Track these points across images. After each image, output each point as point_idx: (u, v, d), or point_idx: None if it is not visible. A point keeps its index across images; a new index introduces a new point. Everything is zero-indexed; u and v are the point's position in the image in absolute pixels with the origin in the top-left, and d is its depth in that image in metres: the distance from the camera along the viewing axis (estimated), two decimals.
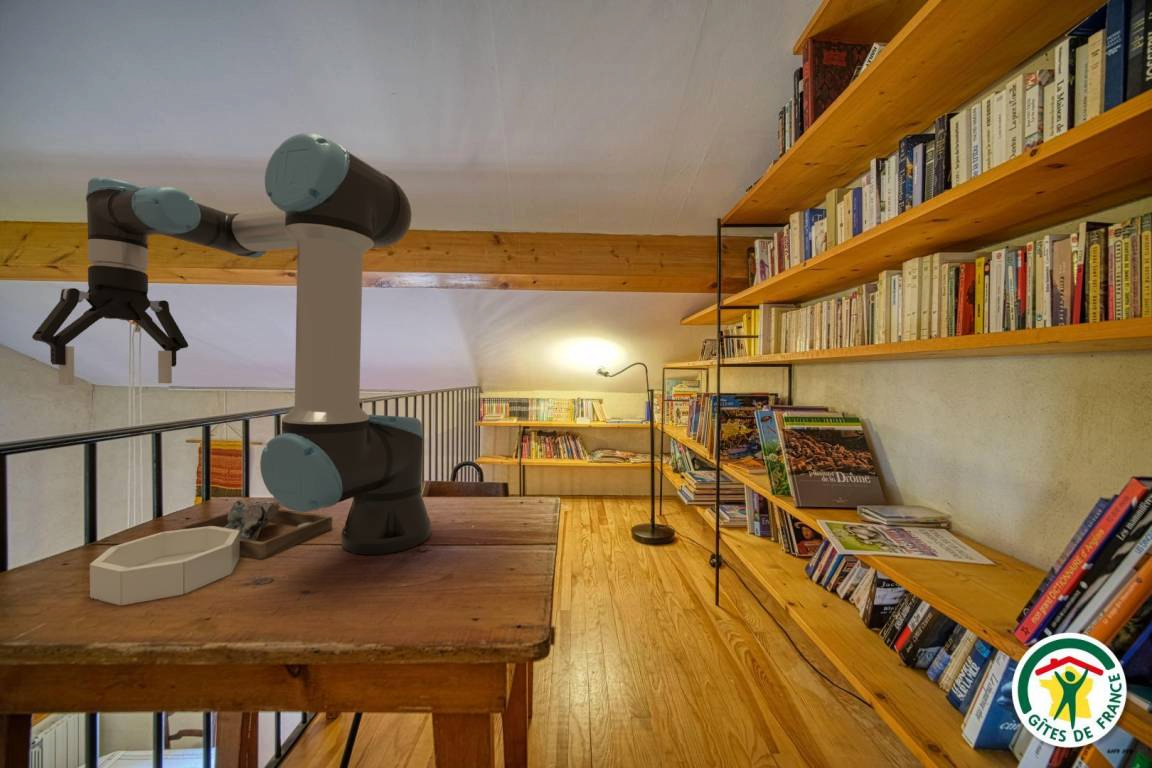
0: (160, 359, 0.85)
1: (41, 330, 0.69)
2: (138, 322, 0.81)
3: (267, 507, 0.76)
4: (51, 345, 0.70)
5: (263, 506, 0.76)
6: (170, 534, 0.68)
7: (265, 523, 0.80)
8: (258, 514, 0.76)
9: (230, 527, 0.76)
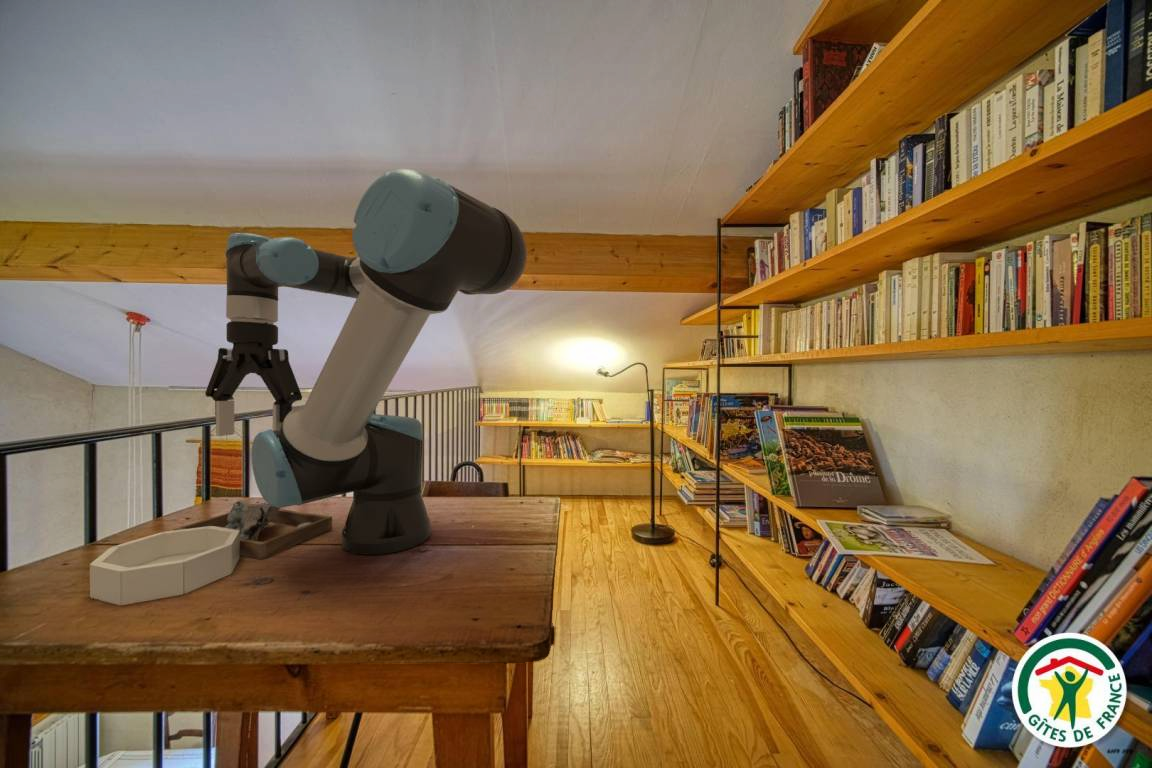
0: None
1: None
2: None
3: (266, 508, 0.76)
4: None
5: (262, 507, 0.76)
6: (170, 534, 0.68)
7: (265, 524, 0.80)
8: (257, 515, 0.75)
9: (230, 528, 0.76)
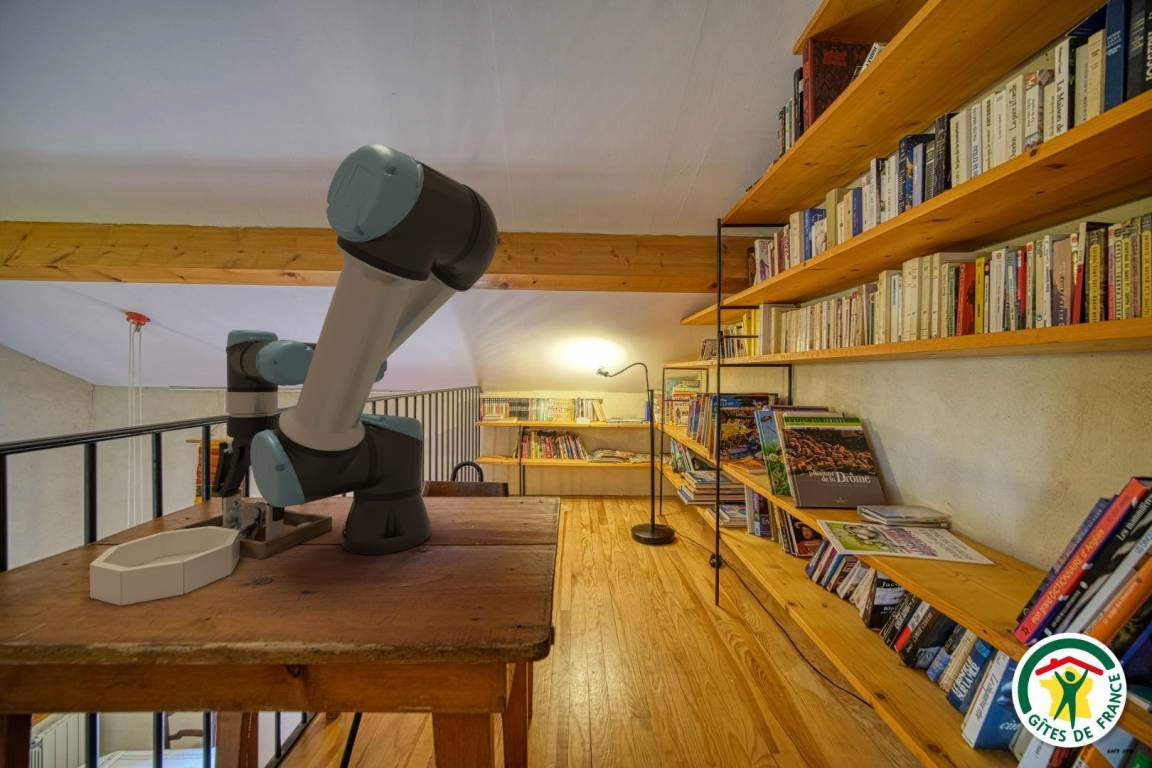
0: None
1: None
2: None
3: (264, 507, 0.76)
4: None
5: (260, 506, 0.76)
6: (170, 534, 0.68)
7: (263, 523, 0.80)
8: (254, 515, 0.75)
9: (227, 527, 0.76)
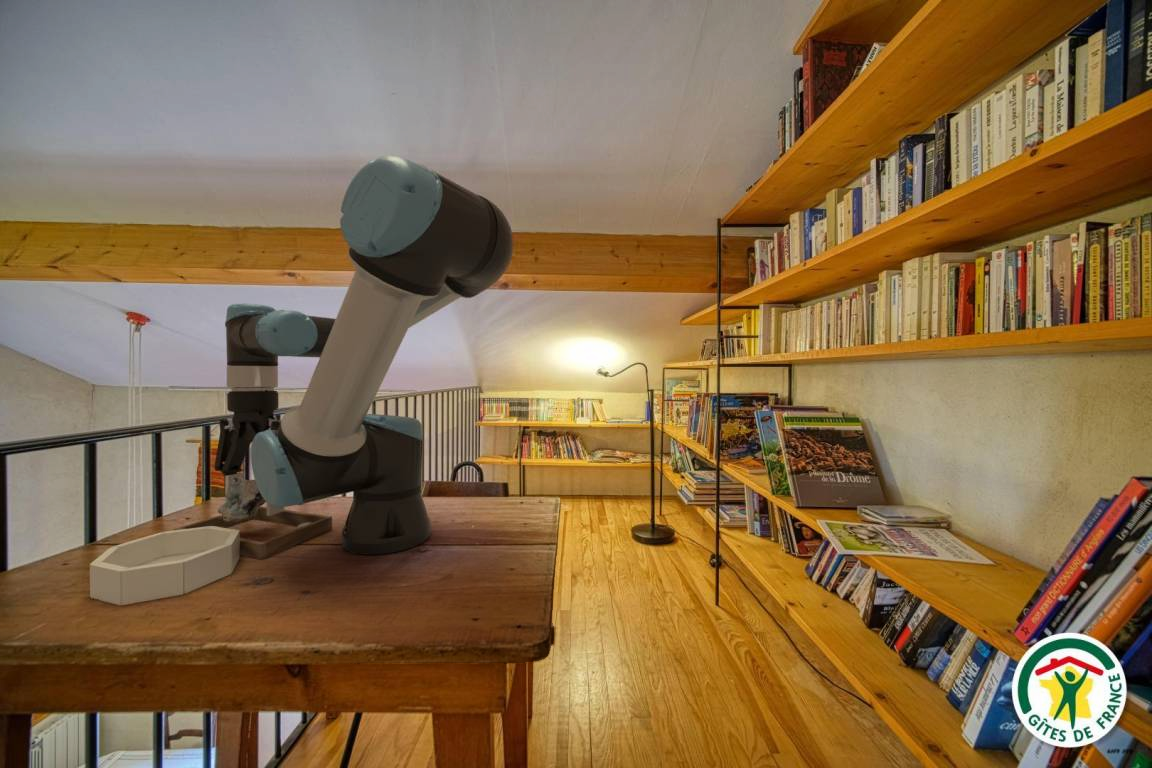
0: None
1: None
2: None
3: None
4: None
5: None
6: (170, 534, 0.68)
7: (264, 500, 0.80)
8: (255, 490, 0.75)
9: (228, 504, 0.75)
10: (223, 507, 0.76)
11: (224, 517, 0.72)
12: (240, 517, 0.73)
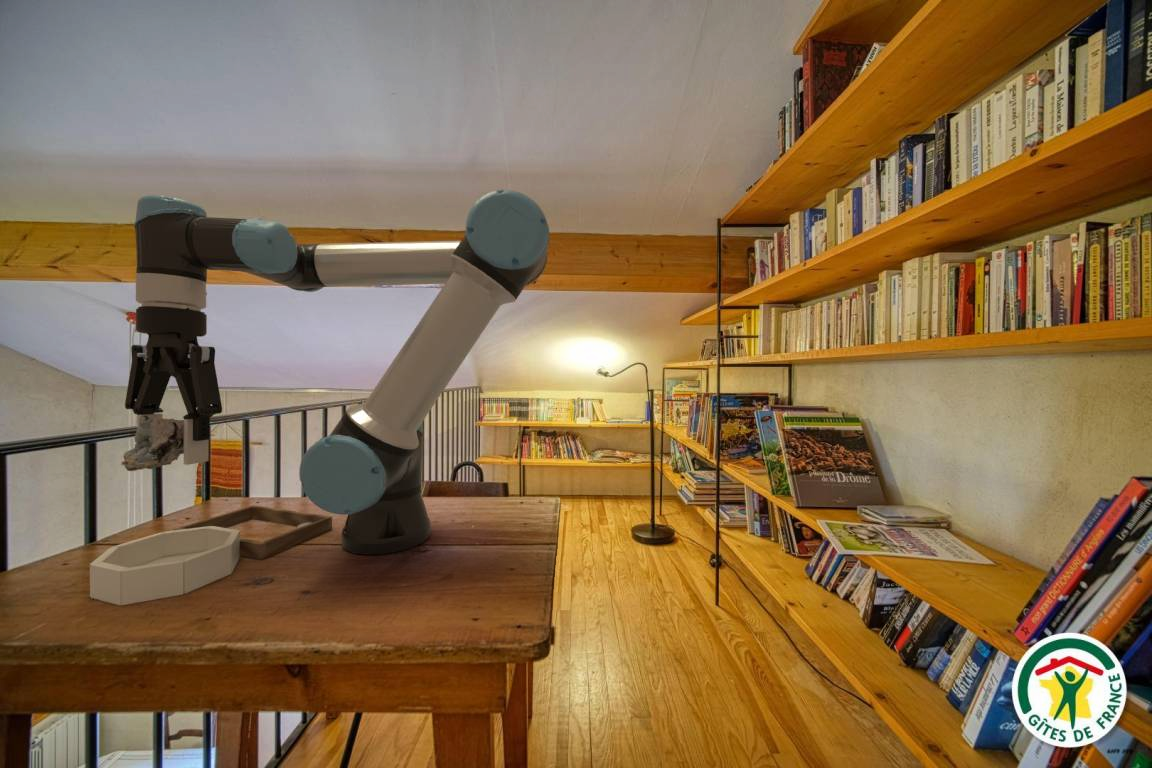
0: None
1: None
2: None
3: (181, 423, 0.60)
4: None
5: (176, 421, 0.60)
6: (170, 534, 0.68)
7: None
8: (169, 431, 0.59)
9: (136, 448, 0.60)
10: (130, 452, 0.61)
11: (125, 462, 0.57)
12: (146, 463, 0.57)
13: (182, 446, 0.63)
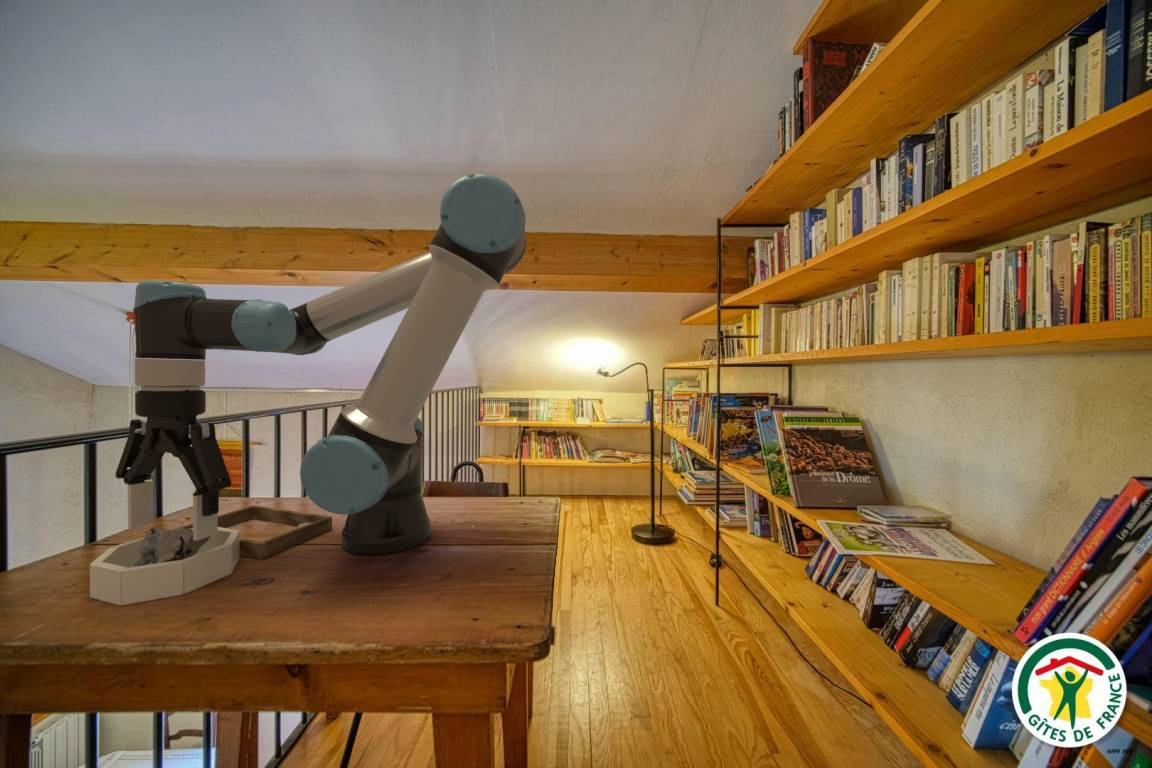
0: None
1: None
2: None
3: (188, 537, 0.60)
4: None
5: (183, 535, 0.60)
6: None
7: (190, 555, 0.64)
8: (175, 546, 0.60)
9: (141, 562, 0.60)
10: (135, 565, 0.61)
11: None
12: None
13: (186, 555, 0.64)
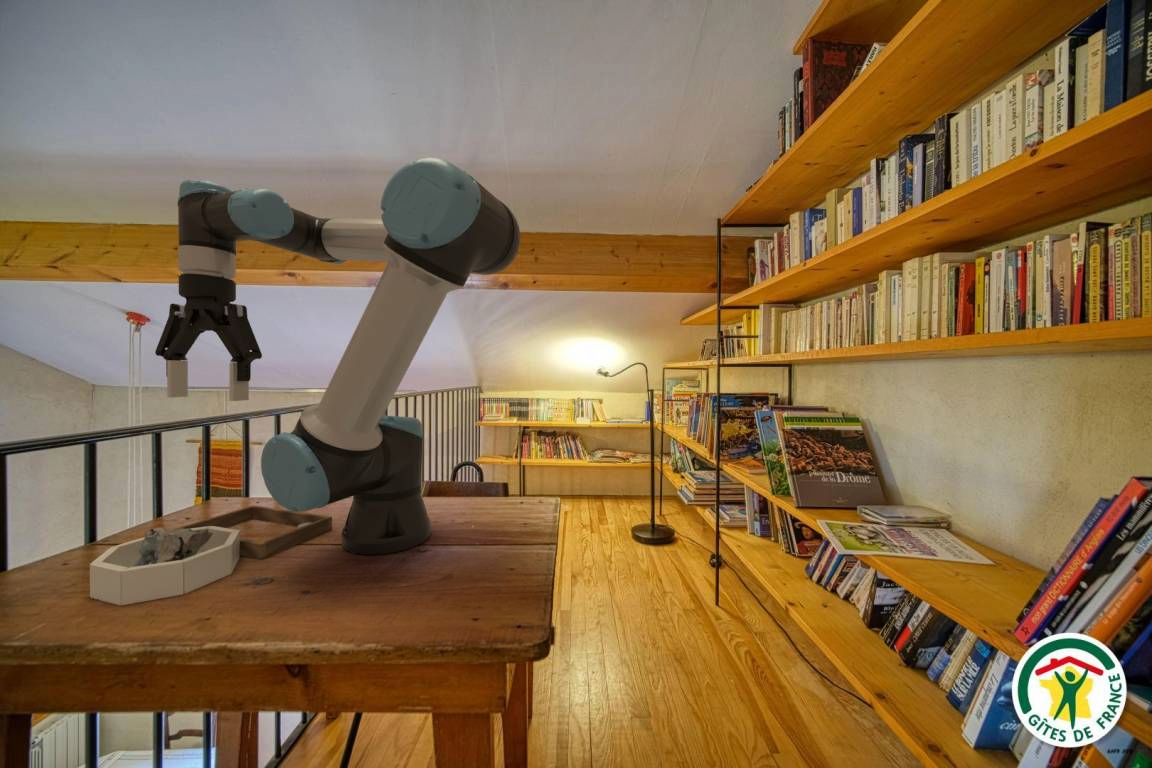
0: None
1: None
2: None
3: (187, 537, 0.60)
4: None
5: (182, 536, 0.60)
6: None
7: (190, 555, 0.64)
8: (175, 547, 0.60)
9: (141, 562, 0.60)
10: (135, 566, 0.61)
11: None
12: None
13: (186, 555, 0.63)
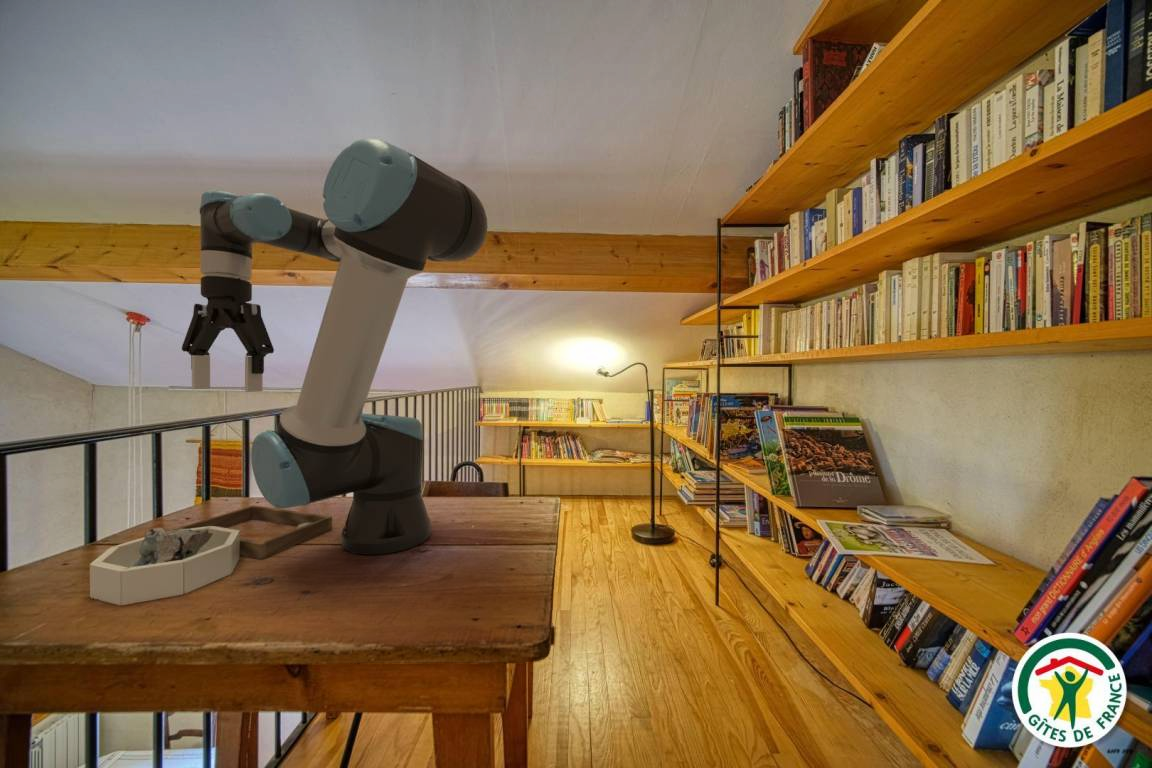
0: None
1: None
2: None
3: (187, 537, 0.60)
4: None
5: (182, 536, 0.60)
6: None
7: (190, 555, 0.64)
8: (174, 547, 0.59)
9: (140, 563, 0.60)
10: (134, 566, 0.60)
11: None
12: None
13: (186, 556, 0.63)
